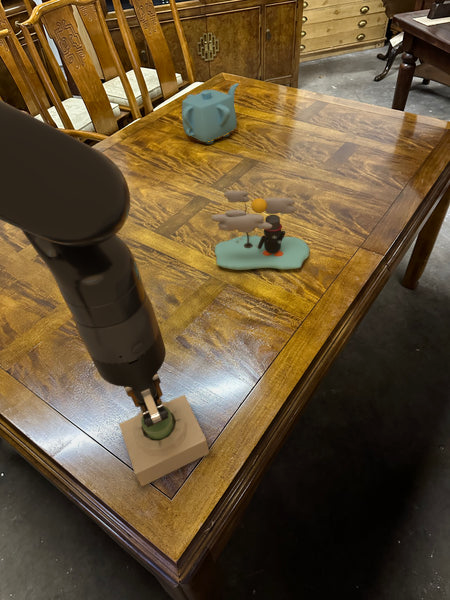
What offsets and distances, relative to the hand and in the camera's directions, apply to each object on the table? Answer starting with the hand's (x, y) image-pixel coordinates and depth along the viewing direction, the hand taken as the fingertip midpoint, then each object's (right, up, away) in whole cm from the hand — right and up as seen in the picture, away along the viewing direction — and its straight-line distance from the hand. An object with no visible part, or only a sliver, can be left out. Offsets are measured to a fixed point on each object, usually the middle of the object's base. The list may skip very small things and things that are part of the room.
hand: (156, 417), depth 55 cm
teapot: (+6, +69, +79) cm, 105 cm away
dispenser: (+1, -5, +5) cm, 8 cm away
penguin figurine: (+17, +24, +33) cm, 44 cm away
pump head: (0, -2, +2) cm, 2 cm away
